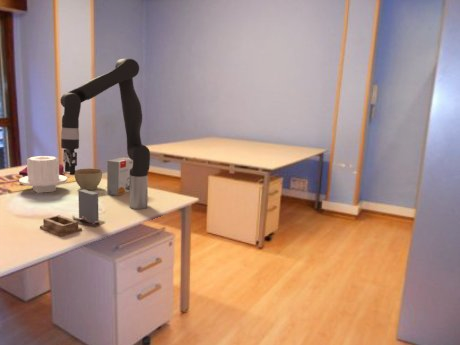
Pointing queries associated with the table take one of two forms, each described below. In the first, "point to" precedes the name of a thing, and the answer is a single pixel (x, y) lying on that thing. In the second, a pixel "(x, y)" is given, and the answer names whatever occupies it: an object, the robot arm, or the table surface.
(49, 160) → the ribbed cylinder on disc
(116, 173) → the hard drive box
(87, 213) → the grey upright flat block
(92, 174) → the planter bowl
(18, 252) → the table surface
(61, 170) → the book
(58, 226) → the rack
